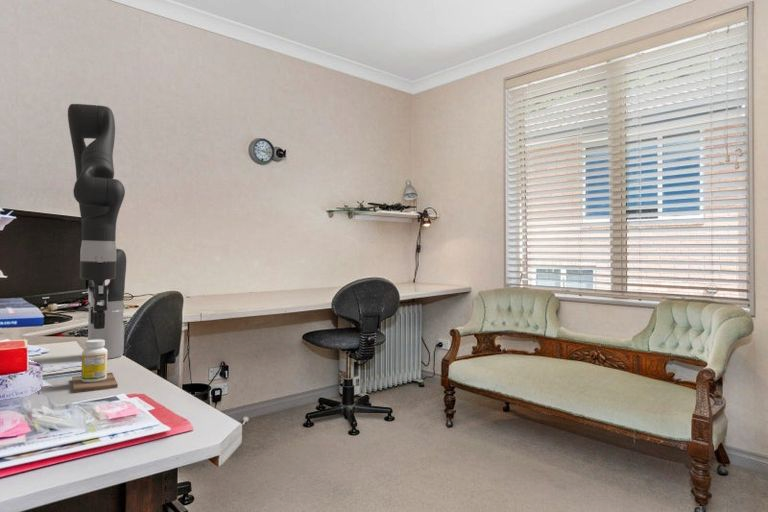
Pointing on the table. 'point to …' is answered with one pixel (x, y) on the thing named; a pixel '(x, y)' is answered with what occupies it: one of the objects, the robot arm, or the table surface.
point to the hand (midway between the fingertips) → (97, 326)
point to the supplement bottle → (94, 361)
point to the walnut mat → (93, 384)
